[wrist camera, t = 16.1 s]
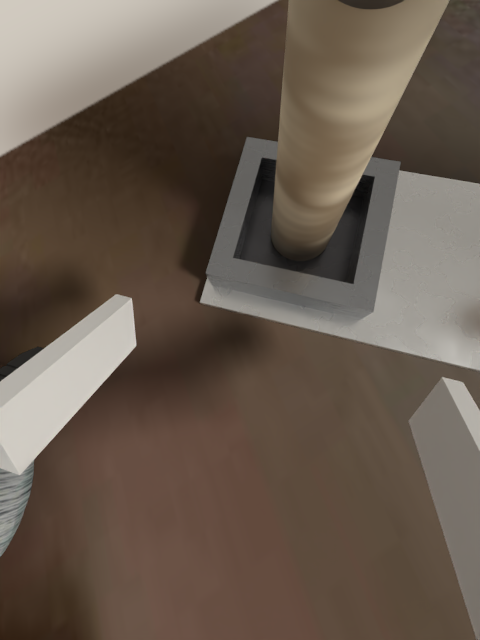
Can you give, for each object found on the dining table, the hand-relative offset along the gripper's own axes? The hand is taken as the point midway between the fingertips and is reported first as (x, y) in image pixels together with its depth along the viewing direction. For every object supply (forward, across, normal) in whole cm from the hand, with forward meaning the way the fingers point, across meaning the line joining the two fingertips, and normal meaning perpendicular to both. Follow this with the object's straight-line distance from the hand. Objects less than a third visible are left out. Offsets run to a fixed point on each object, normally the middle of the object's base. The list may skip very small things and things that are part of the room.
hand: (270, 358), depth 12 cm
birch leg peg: (+12, 0, +2) cm, 13 cm away
